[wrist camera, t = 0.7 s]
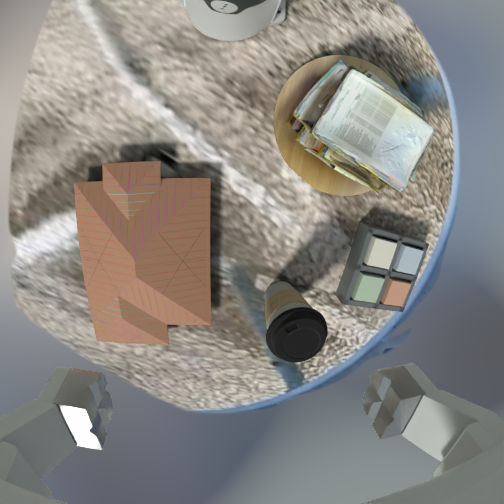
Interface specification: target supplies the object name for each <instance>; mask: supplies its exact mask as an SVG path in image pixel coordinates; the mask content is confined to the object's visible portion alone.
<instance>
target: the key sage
mask: <svg viewBox="0 0 504 504" xmlns="http://www.w3.org/2000/svg"><path fill="white" fill-rule="evenodd" d="M384 280H385V279H384V278H383V277H382V276H380V275H377V274H372V273H367V272H361V271H360V272H359V275H358V278H357V281H356V283H355V286H354V289H353V292H352V294H351V297H352V298H353V299H354V300H358V301H365V302H372V303H376V301H377V298H378V296H379V293H380V291H381V288H382V286H383V283H384Z"/></svg>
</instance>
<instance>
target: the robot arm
mask: <svg viewBox="0 0 504 504" xmlns="http://www.w3.org/2000/svg"><path fill="white" fill-rule="evenodd" d="M177 3H178V5H179V6H180V7H182V8H183V9H184V10H185V11H186V12H187V14H188V16H189V18H190V20H191V22H192V24H193V25H194V26H195V28H196V29H198V30H199V31H200V32H201V33H203V34H205V35H207V36H209V37H211V38H214V39H218V40H224V41H236V40H243V39H246V38H249V37H252V36H254V35H256V34H258V33H259V32H261V31H262V30H264V29H265V28H267V27H269V26H274V25H278V24H281V23H283V22H284V20H285V5H286V0H177ZM277 11H279V12H280V13H277ZM369 380H370V382H371V385H370V386H369V387H368V388H367V389H366V390H365V393H364V395H363V407H364V411H365V413H366V415H367V416H368V417H370V418H372V419H373V420H374V421H373V427H374V429H375V431H376V433H377V434H378V436H379V438H380V439H384V438H388V437H392V436H396V435H400V434H402V436H403V437H405V438H407V439H408V440H409V441H411V442H412V443H414V444H415V445H417V446H418V447H420V448H421V449H423V450H424V451H426V452H427V453H428V454H430V455H432V456H433V457H435V458H436V459H438V460H439V461H441V462H440V463H439V464H438V466H437V467H436V468H435V470H434V471H433V475H434V477H433V478H431V479H429V480H427V481H424V482H422V483H419V484H417V485H414V486H412V487H410V488H407V489H405V490H402V491H399V492H396V493H393V494H390V495H387V496H384V497H381V498H378V499H375V500H372V501H369V502H365V503H362V504H504V423H503V422H502V421H501V420H500V419H499V417H498V416H497V415H496V414H495V413H494V412H492V411H490V410H488V409H485V408H483V407H480V406H478V405H476V404H473V403H471V402H468V401H466V400H464V399H462V398H459V397H457V396H455V395H452V394H450V393H447V392H445V391H443V390H440V391H438V390H437V389H436V387H435V386H434V385H433V384H432V382H431V381H430V380H429V379H428V378H427V377H426V375H425V374H424V373H423V372H422V371H421V370H420V368H419V367H418V366H417V365H416V364H414V363H409V364H404V365H400V366H395V367H389V368H383V369H378V370H374V371H373V373H372V374H371V377H370V379H369ZM106 385H107V381H106V378H105V375H104V374H102V373H97V372H92V371H86V370H80V369H75V368H73V369H72V368H68V367H63V366H58V367H56V368H55V369H54V371H53V373H52V375H51V376H50V378H49V380H48V381H47V383H46V385H45V387H44V388H43V390H42V392H41V394H40V396H39V397H38V399H37V400H35V399H33V400H31V401H29V402H27V403H25V404H23V405H21V406H20V407H18V408H16V409H14V410H12V411H11V412H9V413H7V414H5V415H3V416H1V417H0V504H68V503H65V502H61V501H58V500H55V499H52V495H53V494H52V492H51V491H50V489H49V488H48V487H47V486H46V485H45V483H44V482H43V481H42V480H41V479H42V478H43V477H44V476H45V475H46V474H48V473H49V472H50V471H51V470H52V469H53V468H54V467H55V466H56V465H58V464H59V463H60V462H61V461H62V460H63V459H64V458H65V457H67V455H69V454H70V453H71V452H72V451H73V450H74V449H75V448H77V446H82V447H87V448H93V449H99V450H103V447H104V443H105V440H106V436H107V432H106V429H105V426H107V425H108V424H109V423H110V422H111V418H112V409H113V406H112V399H111V395H110V393H109V392H107V391H106V390H105V388H106ZM76 445H77V446H76Z"/></svg>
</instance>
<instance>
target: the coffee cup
mask: <svg viewBox="0 0 504 504" xmlns="http://www.w3.org/2000/svg"><path fill="white" fill-rule="evenodd" d="M264 299H265V315H266V323H267V333H266V342H267V345H268V347H269V349H270V350H271V352H272V353H273V354H274V355H275V356H277V357H278V358H280V359H283V360H285V361H288V362H302V361H305V360H308V359H310V358H312V357H313V356H315V355H316V354H317V353H318V352H319V351H320V350H321V349H322V347H323V345H324V343H325V340H326V337H327V325H326V321H325V319H324V317H323V316H322V315H321V314H320V313H319V312H318V311H316V310H314V309H313V308H312V307H311V306H310V305H309V304H308V303H307V301H306V300H305V299H304V298H303V297H302V296H301V294H299V293H298V292H297V291H296V290H295V289H294V288H293V287H292V285H290V284H289V283H287V282H284V281H280V282H276V283H274V284H272V285H271V286H269V287H268V288H267V290H266V292H265V295H264Z"/></svg>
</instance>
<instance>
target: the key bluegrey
mask: <svg viewBox="0 0 504 504" xmlns="http://www.w3.org/2000/svg"><path fill="white" fill-rule="evenodd" d="M423 252H424V251H423V250H421V249H419V248H416V247H413V246H409V245H406V244H402V243H401V246H400V249H399V252H398V255H397V258H396V261H395V264H394V266H393V269H395V270H396V271H399V272H404V273H408V274H413V275H415V274H416V271H417V268H418V266H419V263H420V260H421V257H422V255H423Z"/></svg>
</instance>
